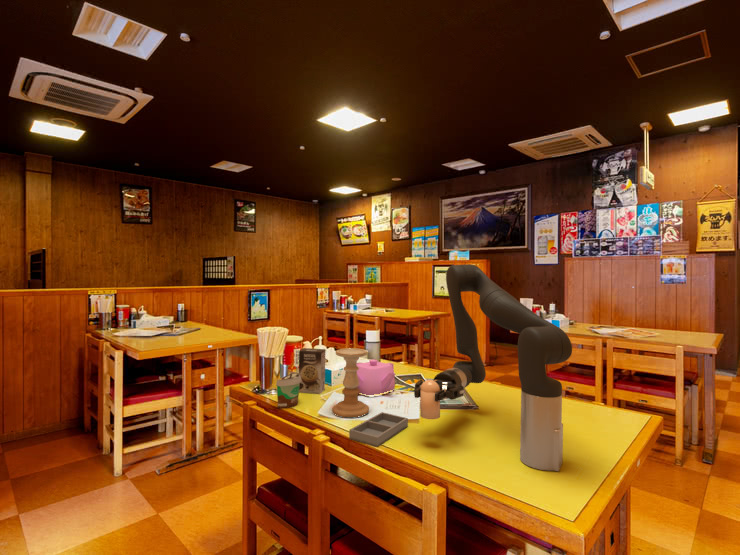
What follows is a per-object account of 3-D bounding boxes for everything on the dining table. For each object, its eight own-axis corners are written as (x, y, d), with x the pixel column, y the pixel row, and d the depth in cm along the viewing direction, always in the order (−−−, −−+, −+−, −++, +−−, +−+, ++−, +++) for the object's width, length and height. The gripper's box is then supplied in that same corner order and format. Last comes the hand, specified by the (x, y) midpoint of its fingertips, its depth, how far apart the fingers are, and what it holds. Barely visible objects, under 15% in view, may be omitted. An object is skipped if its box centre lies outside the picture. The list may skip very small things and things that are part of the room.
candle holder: (368, 418, 125) (369, 355, 125) (330, 418, 126) (330, 354, 125) (369, 405, 138) (370, 347, 137) (334, 405, 138) (334, 347, 138)
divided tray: (407, 426, 119) (407, 418, 119) (377, 447, 105) (377, 437, 105) (381, 420, 124) (381, 412, 124) (349, 438, 110) (349, 429, 110)
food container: (293, 411, 131) (293, 381, 131) (275, 409, 133) (276, 379, 133) (306, 399, 143) (306, 372, 143) (290, 398, 145) (290, 371, 145)
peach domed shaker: (443, 415, 108) (442, 379, 108) (435, 420, 103) (435, 383, 103) (425, 411, 110) (425, 377, 111) (417, 416, 106) (417, 380, 106)
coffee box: (297, 392, 152) (298, 350, 152) (303, 388, 158) (303, 347, 158) (320, 394, 150) (321, 351, 150) (325, 389, 157) (325, 348, 156)
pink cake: (393, 385, 163) (394, 355, 163) (395, 398, 146) (395, 365, 146) (352, 385, 163) (352, 355, 163) (349, 398, 146) (349, 364, 146)
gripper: (428, 366, 123) (402, 377, 109) (473, 372, 115) (451, 385, 101) (428, 391, 123) (401, 405, 109) (473, 398, 115) (451, 415, 101)
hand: (426, 395), depth 105 cm, fingers closed on peach domed shaker, 5 cm apart
